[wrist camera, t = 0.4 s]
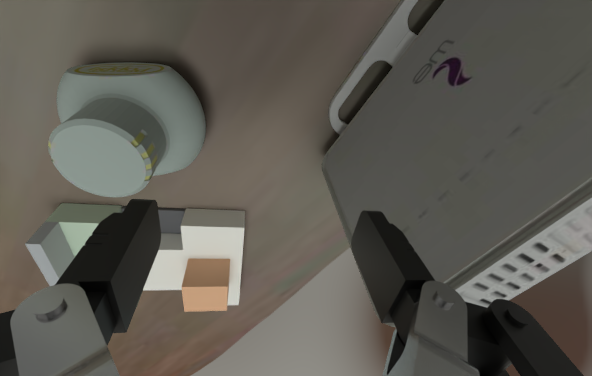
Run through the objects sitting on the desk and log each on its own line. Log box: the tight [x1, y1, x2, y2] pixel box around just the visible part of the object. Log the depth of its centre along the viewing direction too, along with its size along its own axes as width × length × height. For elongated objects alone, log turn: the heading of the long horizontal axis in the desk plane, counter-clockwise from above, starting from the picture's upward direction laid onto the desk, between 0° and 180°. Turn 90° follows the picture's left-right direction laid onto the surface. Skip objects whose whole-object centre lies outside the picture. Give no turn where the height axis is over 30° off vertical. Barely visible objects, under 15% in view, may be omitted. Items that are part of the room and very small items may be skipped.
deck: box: [25, 203, 245, 307], centre depth 34 cm, size 16×20×6 cm
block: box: [182, 258, 230, 312], centre depth 34 cm, size 5×5×4 cm
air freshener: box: [48, 62, 206, 197], centre depth 21 cm, size 11×8×10 cm
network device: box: [322, 0, 592, 327], centre depth 18 cm, size 26×9×20 cm, turn 147°
